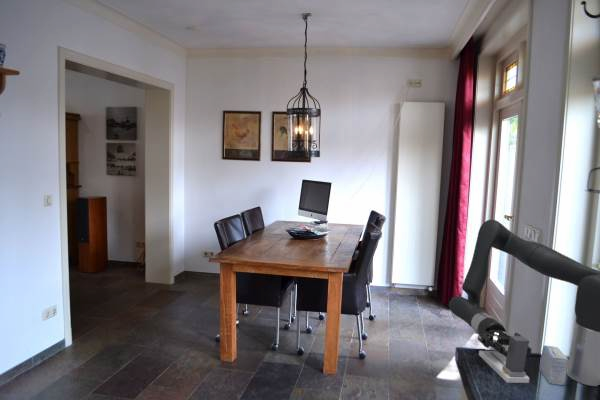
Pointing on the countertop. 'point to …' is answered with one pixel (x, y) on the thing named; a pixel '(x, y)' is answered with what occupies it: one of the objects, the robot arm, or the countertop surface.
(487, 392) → the countertop surface
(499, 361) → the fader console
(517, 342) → the fader tab
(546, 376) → the medicine box
